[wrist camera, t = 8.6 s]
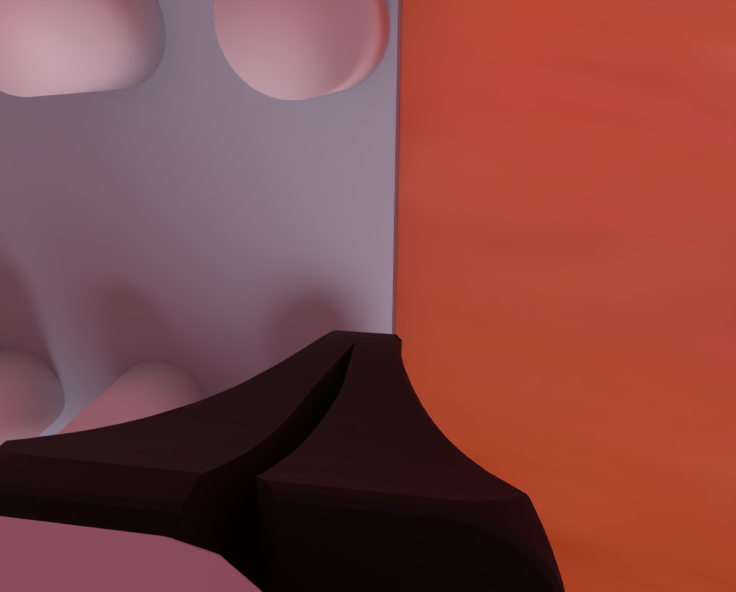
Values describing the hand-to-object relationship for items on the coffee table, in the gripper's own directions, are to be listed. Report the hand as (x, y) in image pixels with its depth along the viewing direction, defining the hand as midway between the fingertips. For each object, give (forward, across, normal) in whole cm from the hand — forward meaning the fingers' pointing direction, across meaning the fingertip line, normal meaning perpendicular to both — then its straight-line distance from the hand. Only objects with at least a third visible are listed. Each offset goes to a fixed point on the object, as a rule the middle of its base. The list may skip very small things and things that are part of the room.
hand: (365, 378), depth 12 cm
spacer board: (+10, +12, 0) cm, 15 cm away
